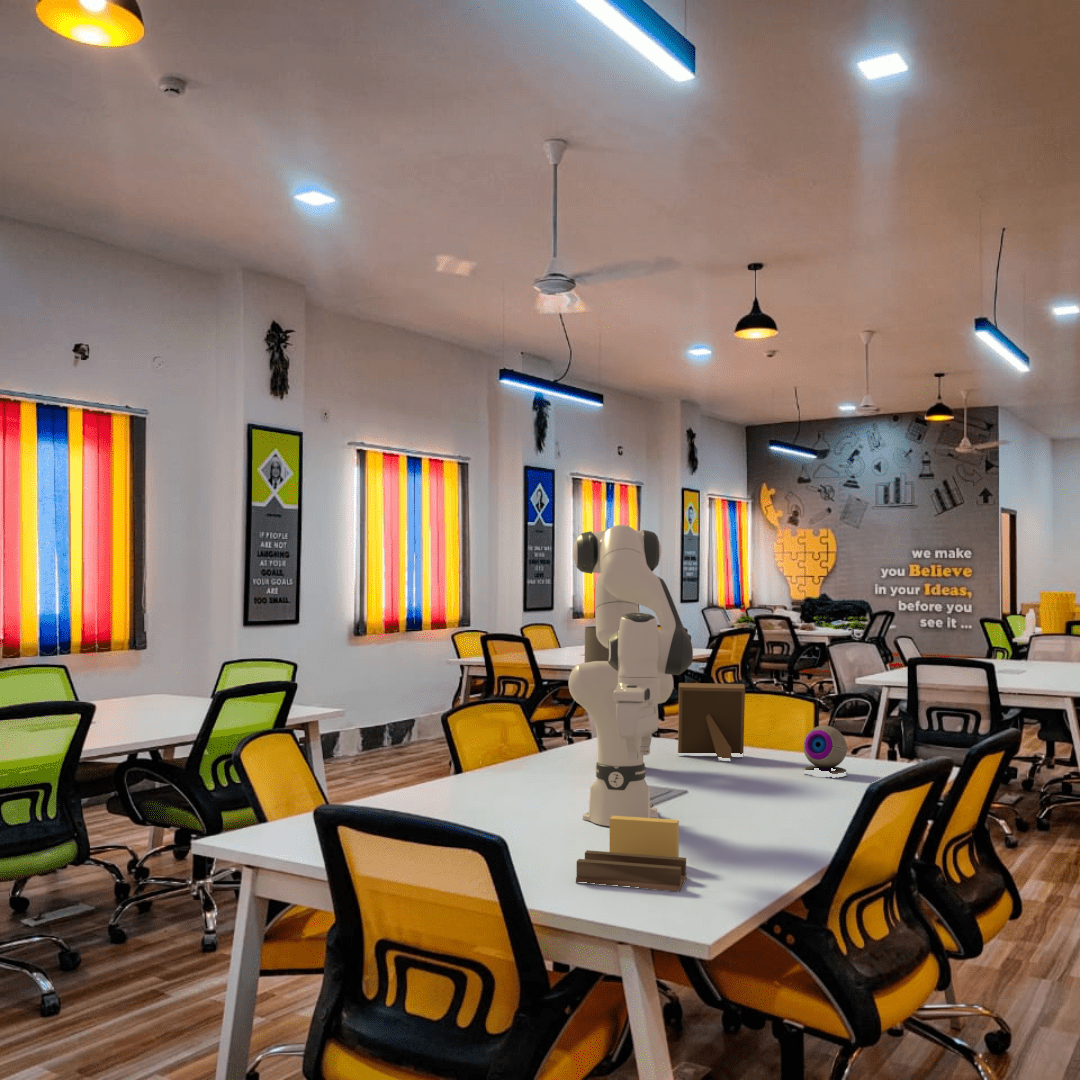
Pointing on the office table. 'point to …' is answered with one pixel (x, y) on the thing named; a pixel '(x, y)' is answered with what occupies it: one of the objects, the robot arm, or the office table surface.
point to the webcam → (825, 749)
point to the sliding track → (632, 870)
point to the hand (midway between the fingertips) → (639, 757)
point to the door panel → (644, 836)
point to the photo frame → (711, 718)
